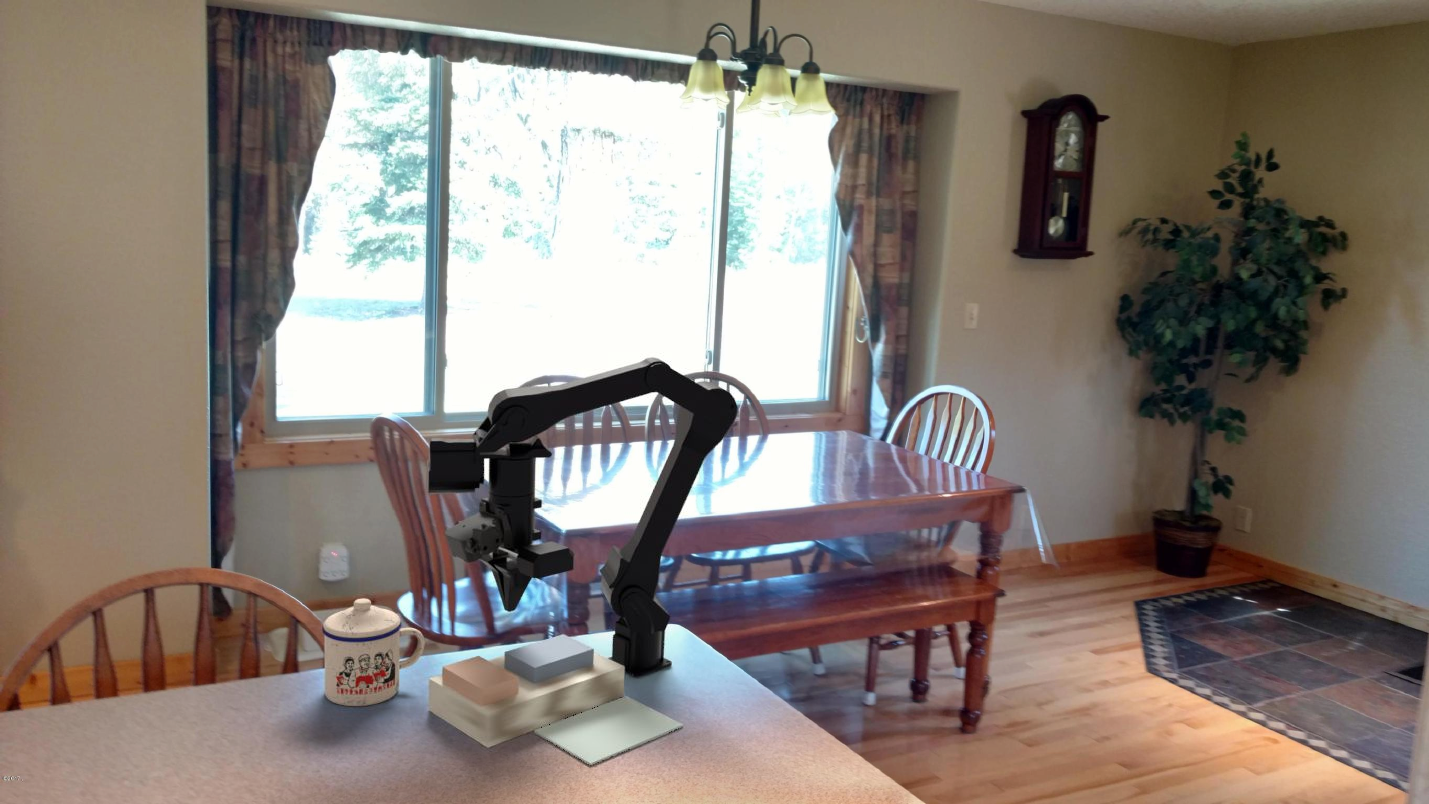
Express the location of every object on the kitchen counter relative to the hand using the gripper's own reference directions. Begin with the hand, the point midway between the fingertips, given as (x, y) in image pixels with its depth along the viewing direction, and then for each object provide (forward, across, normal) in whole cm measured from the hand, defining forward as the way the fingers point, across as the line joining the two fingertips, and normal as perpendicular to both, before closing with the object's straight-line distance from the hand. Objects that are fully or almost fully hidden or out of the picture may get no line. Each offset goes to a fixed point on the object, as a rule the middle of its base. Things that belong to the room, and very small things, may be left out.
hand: (509, 610), depth 137 cm
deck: (+9, +8, -3) cm, 12 cm away
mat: (+9, +20, 0) cm, 22 cm away
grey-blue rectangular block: (+5, +8, 0) cm, 10 cm away
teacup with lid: (+9, -7, -15) cm, 19 cm away
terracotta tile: (+4, +8, -10) cm, 14 cm away
